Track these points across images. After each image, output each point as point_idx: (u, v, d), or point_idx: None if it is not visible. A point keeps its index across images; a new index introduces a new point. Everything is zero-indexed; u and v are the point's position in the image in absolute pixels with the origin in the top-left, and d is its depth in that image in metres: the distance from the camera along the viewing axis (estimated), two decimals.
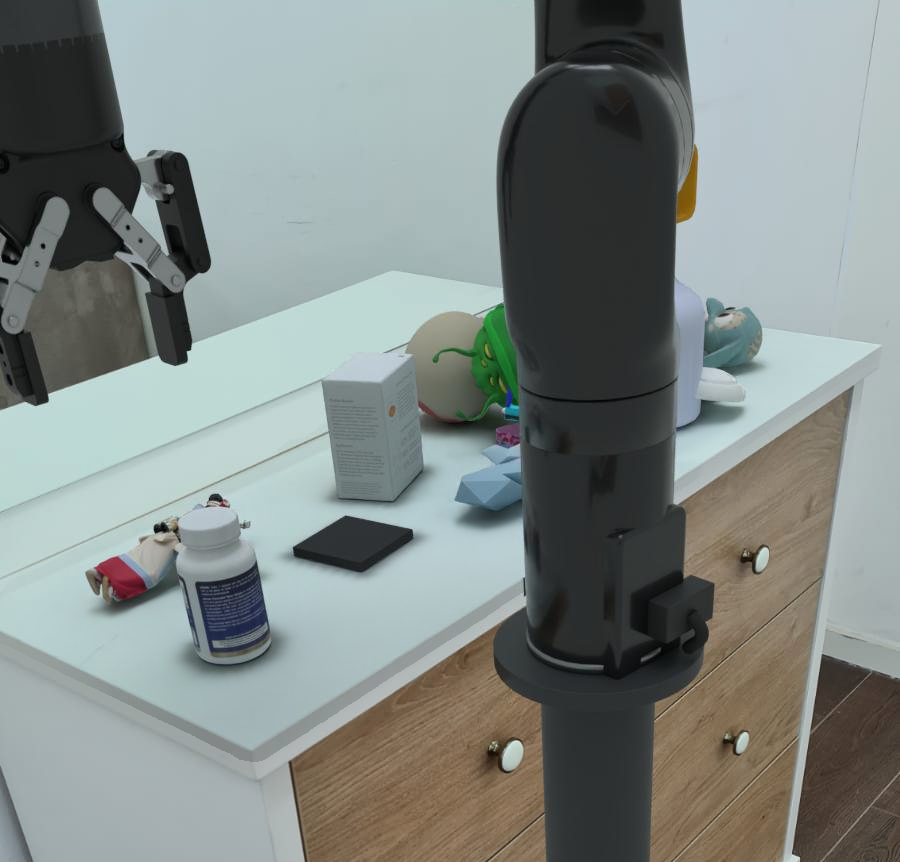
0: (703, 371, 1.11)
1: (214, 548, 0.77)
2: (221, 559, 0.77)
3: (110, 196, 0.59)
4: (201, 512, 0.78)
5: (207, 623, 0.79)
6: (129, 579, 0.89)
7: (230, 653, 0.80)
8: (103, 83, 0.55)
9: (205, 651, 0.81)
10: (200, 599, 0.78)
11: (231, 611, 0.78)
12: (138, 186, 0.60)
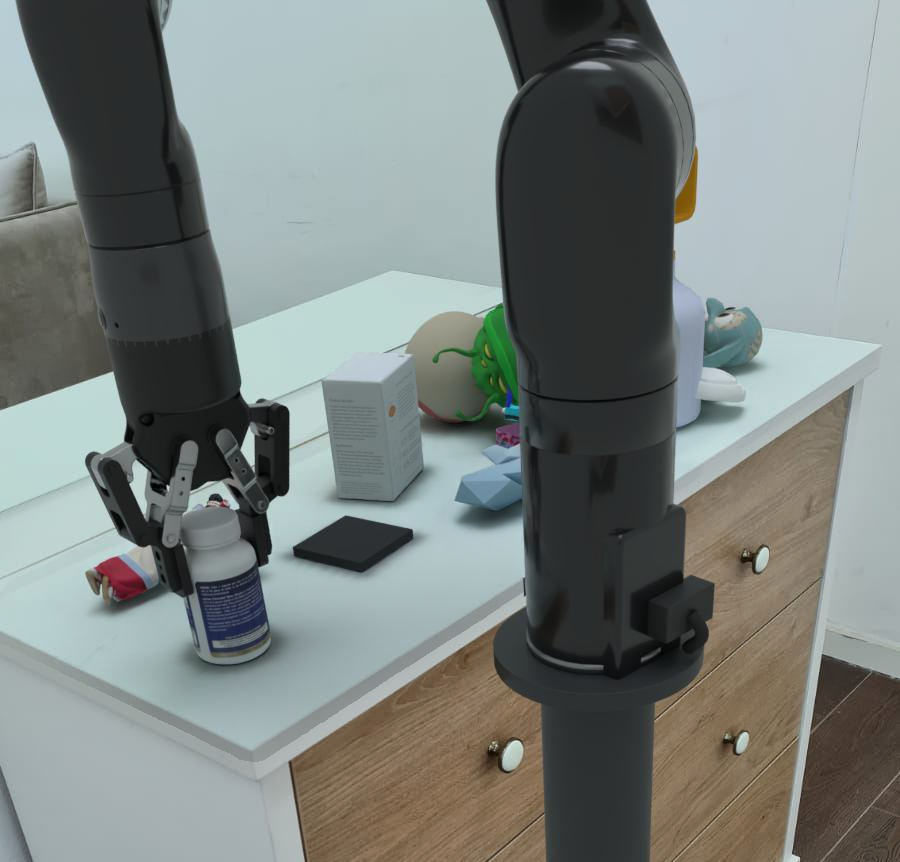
0: (703, 371, 1.11)
1: (214, 548, 0.77)
2: (220, 559, 0.77)
3: (229, 436, 0.74)
4: (201, 512, 0.78)
5: (207, 623, 0.79)
6: (129, 579, 0.89)
7: (230, 653, 0.80)
8: (230, 357, 0.70)
9: (205, 651, 0.81)
10: (200, 599, 0.78)
11: (231, 611, 0.78)
12: (249, 421, 0.75)
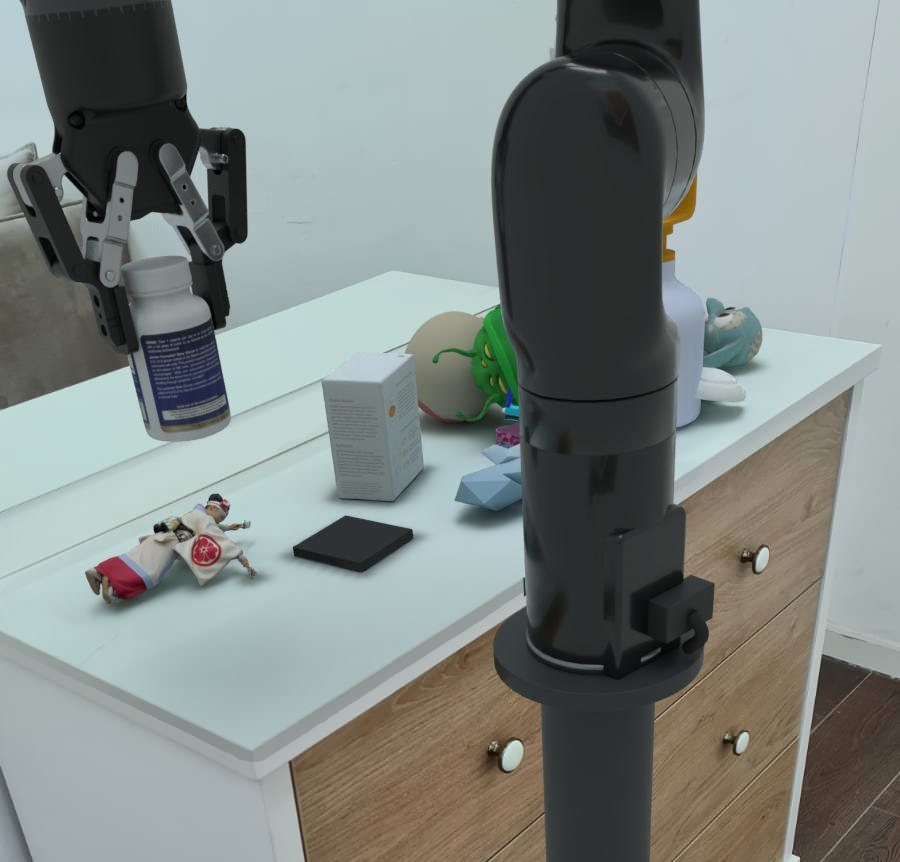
0: (703, 371, 1.11)
1: (161, 295, 0.67)
2: (169, 308, 0.68)
3: (175, 153, 0.64)
4: (147, 260, 0.69)
5: (156, 388, 0.70)
6: (129, 579, 0.89)
7: (183, 426, 0.71)
8: (171, 46, 0.61)
9: (155, 426, 0.71)
10: (147, 358, 0.69)
11: (183, 373, 0.69)
12: (198, 143, 0.66)
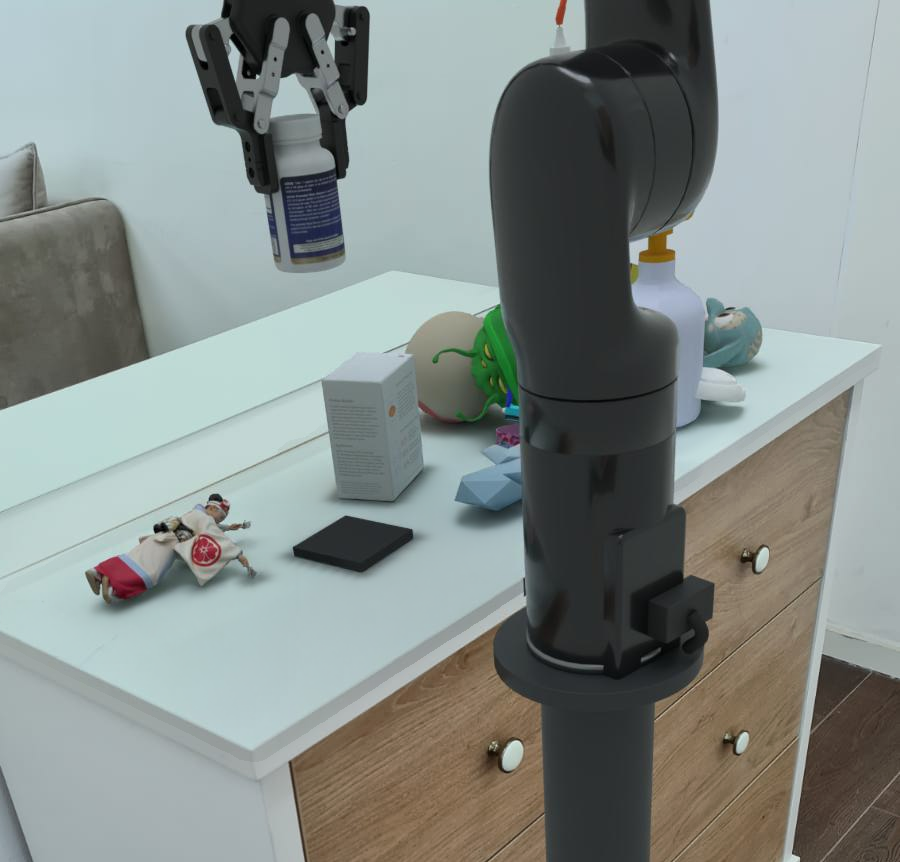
0: (703, 371, 1.11)
1: (299, 144, 0.82)
2: (304, 155, 0.82)
3: (317, 22, 0.79)
4: (284, 116, 0.83)
5: (289, 224, 0.84)
6: (129, 579, 0.89)
7: (310, 259, 0.85)
8: None
9: (286, 258, 0.86)
10: (284, 198, 0.83)
11: (313, 211, 0.84)
12: (334, 16, 0.80)
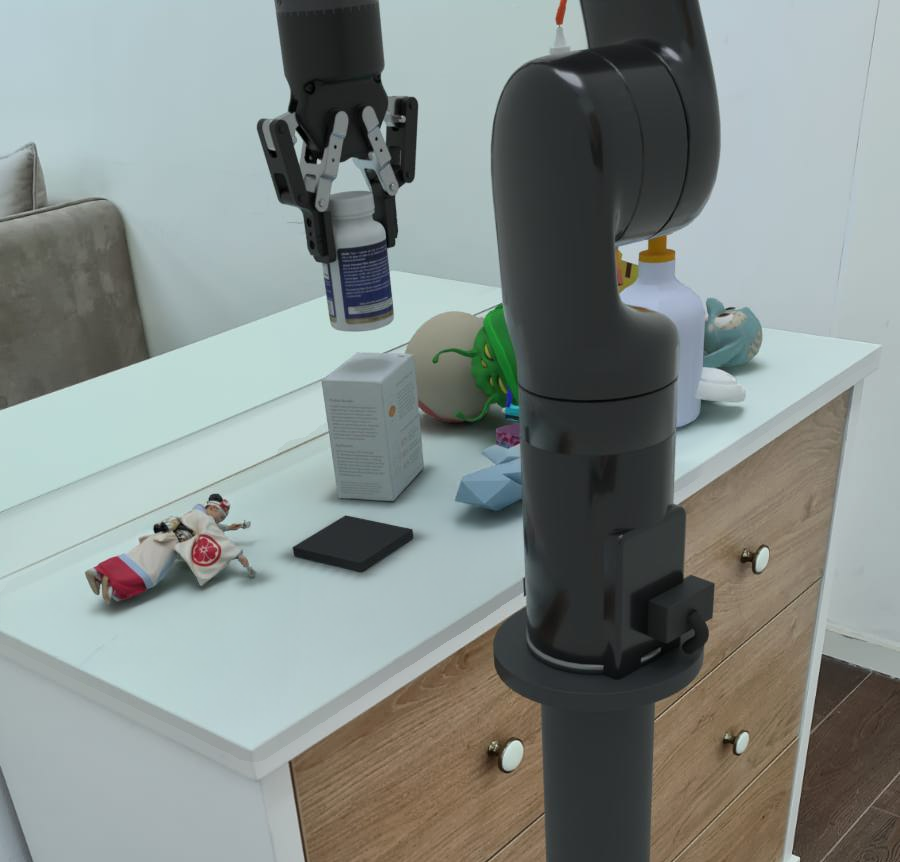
0: (703, 371, 1.11)
1: (354, 219, 0.91)
2: (359, 228, 0.92)
3: (372, 114, 0.88)
4: (341, 193, 0.93)
5: (345, 289, 0.94)
6: (129, 579, 0.89)
7: (362, 319, 0.95)
8: (379, 35, 0.85)
9: (341, 319, 0.95)
10: (341, 266, 0.93)
11: (366, 278, 0.93)
12: (386, 107, 0.90)
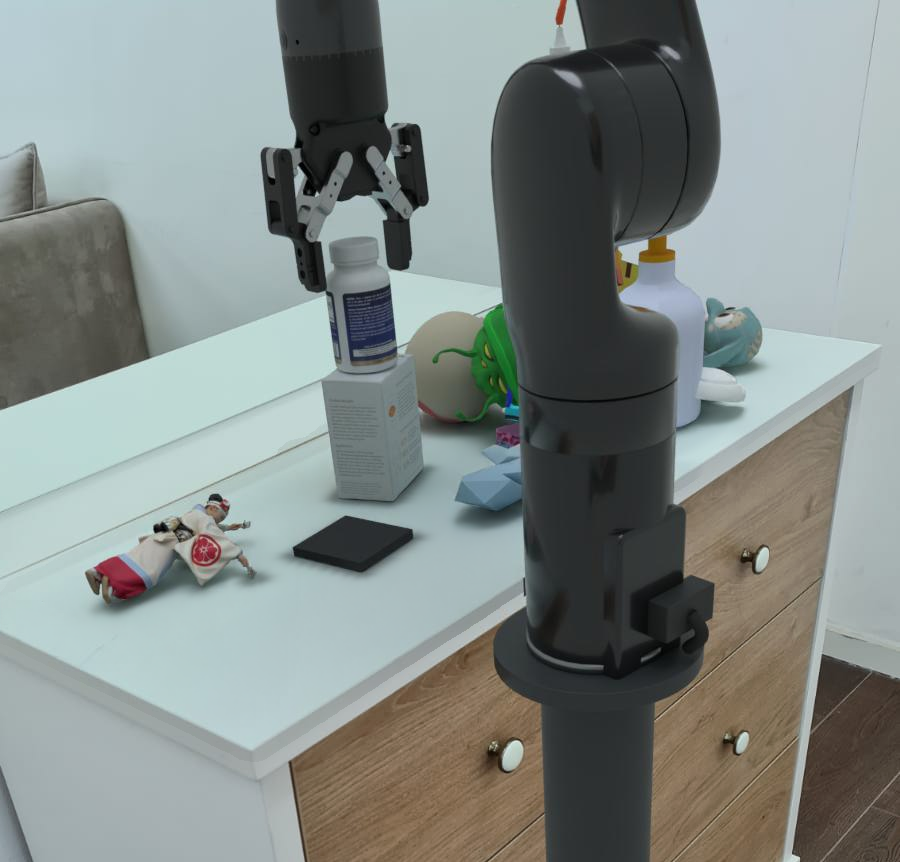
0: (703, 371, 1.11)
1: (359, 265, 0.93)
2: (364, 274, 0.94)
3: (376, 152, 0.90)
4: (346, 239, 0.95)
5: (350, 333, 0.96)
6: (129, 579, 0.89)
7: (367, 362, 0.97)
8: (382, 78, 0.86)
9: (346, 361, 0.97)
10: (346, 310, 0.95)
11: (371, 322, 0.95)
12: (390, 146, 0.92)
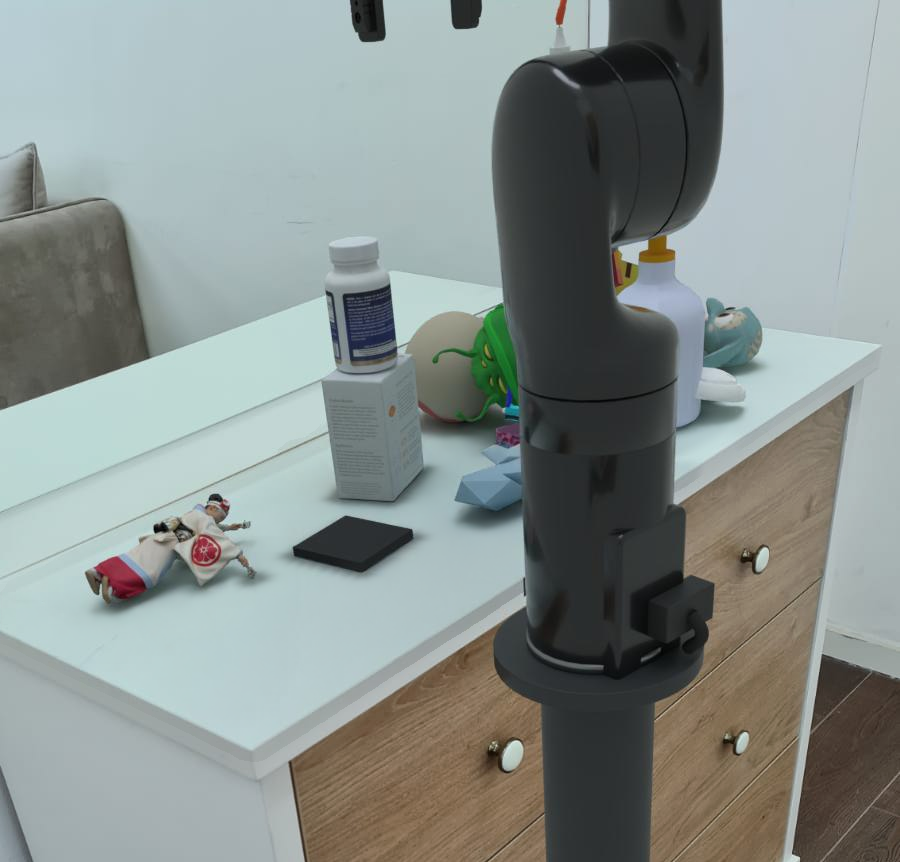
0: (703, 371, 1.11)
1: (359, 265, 0.93)
2: (364, 274, 0.94)
3: None
4: (346, 239, 0.95)
5: (350, 333, 0.96)
6: (129, 579, 0.89)
7: (367, 362, 0.97)
8: None
9: (346, 361, 0.97)
10: (346, 310, 0.95)
11: (371, 322, 0.95)
12: None
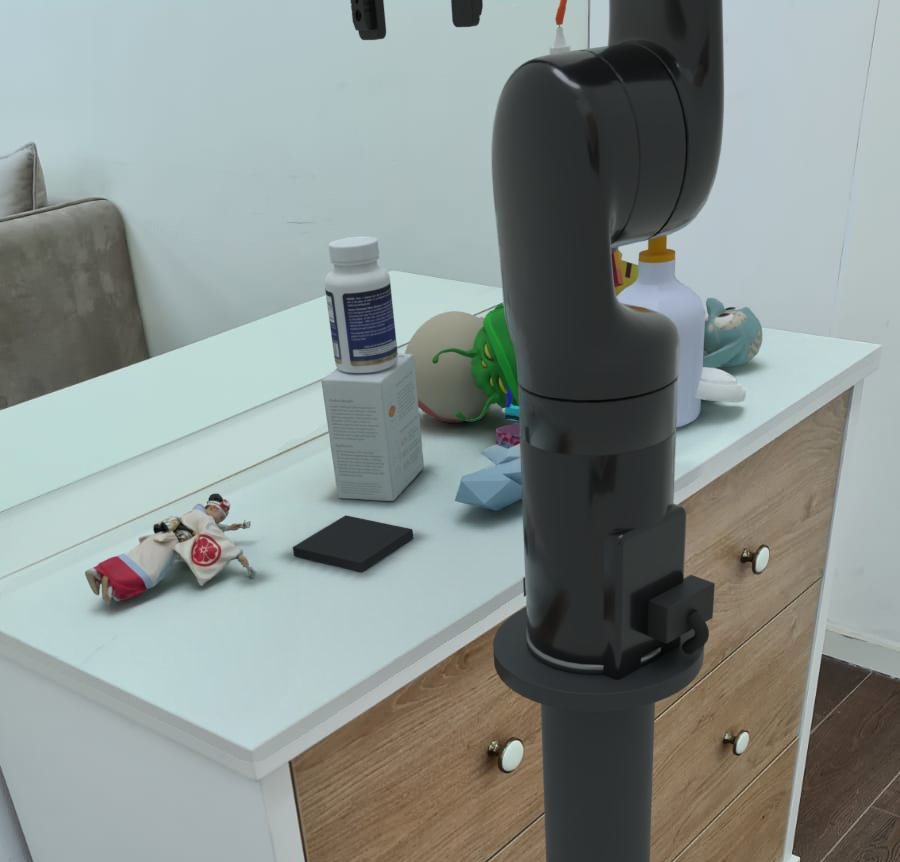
0: (703, 371, 1.11)
1: (359, 265, 0.93)
2: (364, 274, 0.94)
3: None
4: (346, 239, 0.95)
5: (350, 333, 0.96)
6: (129, 579, 0.89)
7: (367, 362, 0.97)
8: None
9: (346, 361, 0.97)
10: (346, 310, 0.95)
11: (371, 322, 0.95)
12: None
